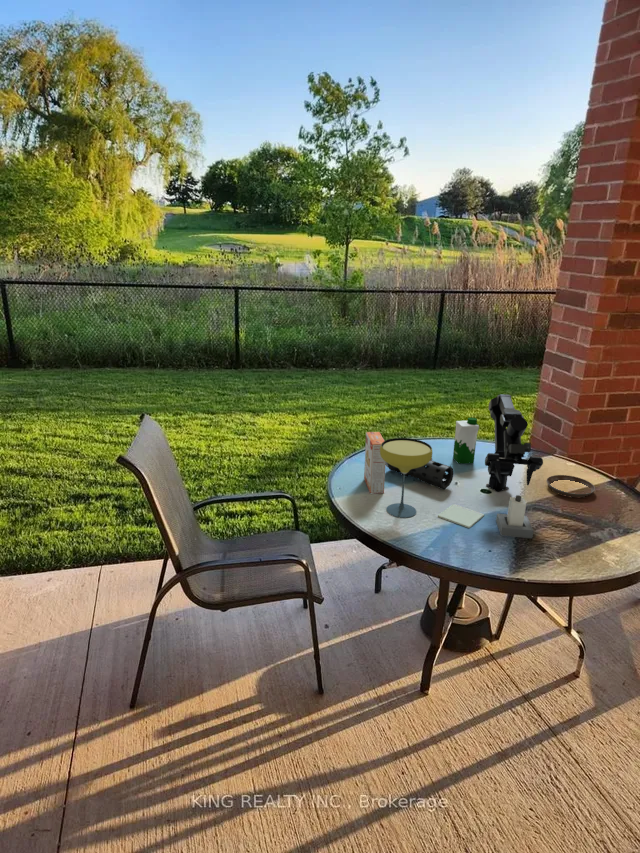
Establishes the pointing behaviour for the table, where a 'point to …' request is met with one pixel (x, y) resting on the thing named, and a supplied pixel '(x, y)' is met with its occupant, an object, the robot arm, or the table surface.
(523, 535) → the socket collar
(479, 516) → the rubber mat
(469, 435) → the milk carton
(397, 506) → the cocktail glass
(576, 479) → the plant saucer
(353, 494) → the table surface
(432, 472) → the muzzle brake
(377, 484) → the cracker box
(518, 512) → the plug
